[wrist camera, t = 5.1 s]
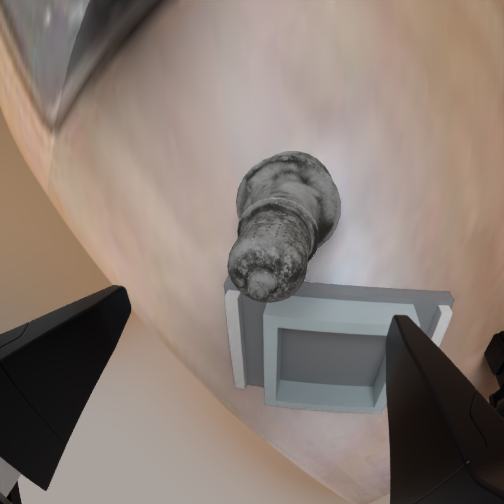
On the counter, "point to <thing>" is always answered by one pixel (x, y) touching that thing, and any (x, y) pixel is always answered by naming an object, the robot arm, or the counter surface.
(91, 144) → the counter surface
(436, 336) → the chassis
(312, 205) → the grey stone chess piece
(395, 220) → the counter surface
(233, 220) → the counter surface
